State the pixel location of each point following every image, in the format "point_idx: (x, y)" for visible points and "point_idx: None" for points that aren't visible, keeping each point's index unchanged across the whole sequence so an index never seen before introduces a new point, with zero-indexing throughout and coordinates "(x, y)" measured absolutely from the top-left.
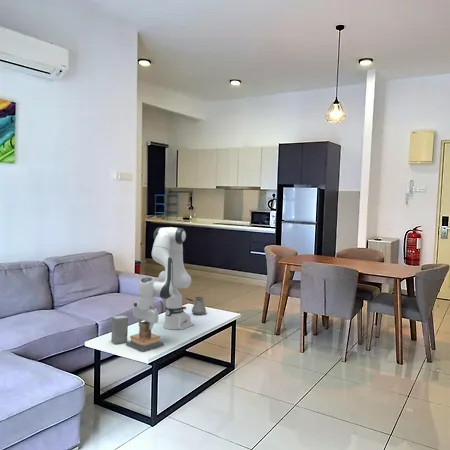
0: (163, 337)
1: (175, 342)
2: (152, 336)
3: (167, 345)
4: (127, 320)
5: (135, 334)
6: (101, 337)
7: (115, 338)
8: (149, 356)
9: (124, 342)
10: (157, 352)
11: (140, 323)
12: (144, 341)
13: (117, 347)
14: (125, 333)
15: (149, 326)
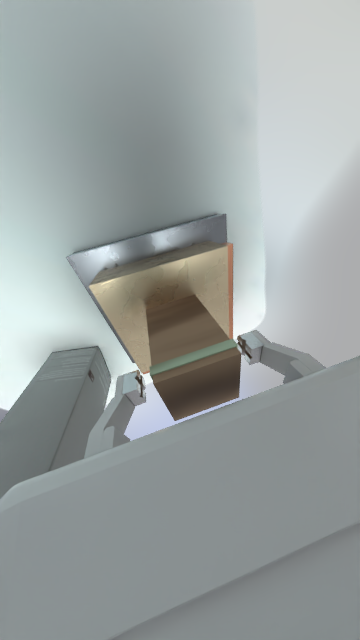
0: (50, 83)
1: (220, 73)
2: (209, 291)
3: (228, 190)
4: (53, 469)
5: (132, 356)
6: (4, 407)
7: (106, 398)
8: (261, 317)
9: (102, 356)
10: (257, 283)
11: (186, 412)
12: (231, 338)
13: (141, 374)
14: (90, 385)
15: (260, 362)
